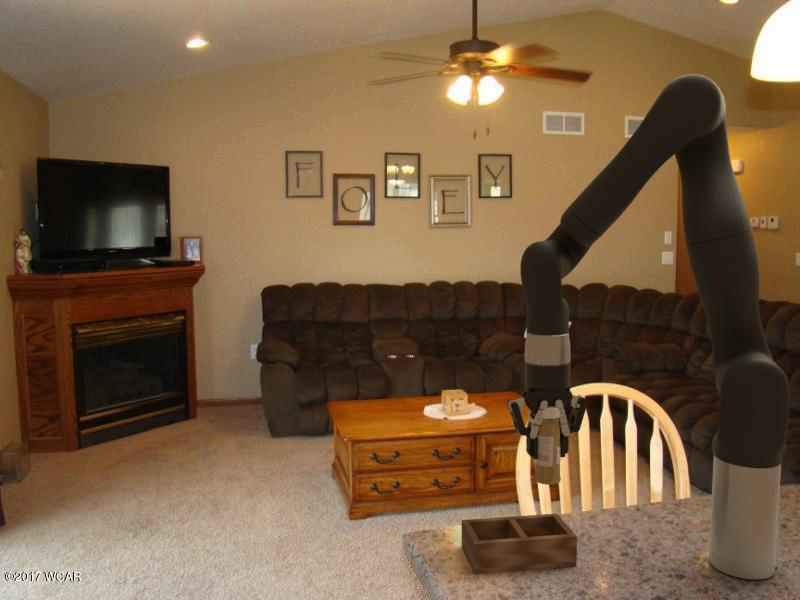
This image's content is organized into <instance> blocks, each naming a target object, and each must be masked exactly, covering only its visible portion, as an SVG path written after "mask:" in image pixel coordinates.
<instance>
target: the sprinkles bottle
mask: <svg viewBox="0 0 800 600" xmlns="http://www.w3.org/2000/svg"><path fill="white" fill-rule="evenodd" d="M540 414H541V413H540ZM534 416H535V415H534ZM559 417H560V411H559V409H557V408H556V407H555V406H551V407H547V409H545V410H543V411H542V418H543V420H542V424H541V426H540V427H539V430H538V433H537V436H536V438H537V439H538V458H537V459H534V477H533V478H534V480H535V482H537V483H539V484H541V485H545V486H547V485H549V486H550V485H557V484H559V483H560V482H561V480H562V478H561V457H560V421H559Z"/></svg>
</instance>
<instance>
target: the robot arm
mask: <svg viewBox="0 0 800 600" xmlns="http://www.w3.org/2000/svg"><path fill="white" fill-rule="evenodd" d="M726 105H727V104H726V100H725V96H724V93H723V92H722V90H721V88H720V87H719V86H718V85H717V84H716V83H715V81H713V80H712V79H711V78H709V77H707V76H705V75H703V74H699V73H698V74H697V73H690V74H689V73H688V74H683V75H680V76H678V77H676V78H674V79H672V80H671V81H670V82H668V83H667V84H666V85H665V86H664V87H663V88H662V90H661V91H660V94H659V95H658V96H657V98H656V99H655V101H654V103H653V104H652V105H651V107H650V109H649V111H648V112H647V114H646V115H645V116H644V117H643V120H642V121H641V123H640V124H639V126H638V127H637V129H636V130H635V131H633V132H634V133H633V134H632V135H631V136H630V138H629V139H627V141H626V143H625V144H624V145H623V146H622V148H621V149H620V150H619V151H618V153H617V154H616V155H615V156H614V157H613V158H612V159H611V160H610V162H609V163H608V164H607V165H605V167H604V168H603V169H602V170H601V171H600V172H599V174H597V176H596V177H595V178H593V180H592V181H591V182H590V183H589V184H588V185H587V186H586V187H585V189H584V190H583V191H581V192H580V194H578V196H577V197H576V198H575V199H574V201H573V202H572V203H571V204H570V205H569V206H568V207H567V208H566V209H565V211H564V212H563V213H562V215H561V217H560V221H559V222H560V223H559V224H558V225H557V226H556V228H554V230H553V231H552V232H551V234H550V235H549V236H548V237H547V238H545V240H541V241H536V242H532V243H531V244H529V245H528V246H527V247H526V248H525V250H524V251H523V253H522V256H521V260H520V266H519V267H520V268H519V269H520V271H519V272H520V281H521V286H522V293H523V297H524V301H525V304H526V322H525V323H526V326H525V327H526V332H525V333H526V334H525V335H526V336H525V342H524V343H525V345H524V354H523V355H524V357H523V358H524V387H525V388H524V392H523V394H522V397H518V398H517V399H512V398H511V399H510V398H509V399H508V400H507V402H506V403H507V406H508V410H509V413H510V416H511V419H512V423H513V426H514V430H515V431H516V433H517V432H518V434H519V435H521V436H525V437H526V438H525V439H526V440H525V442H526V445H525V446H526V447H525V449H526V453H527V455H529V456H530V458H531V459H532V460H535V459H537V458H538V439H537V438H536V436H537V433H538V430H539V427H540V426H541V424H542V420H543V418H542V411H543V410H545V409H547V407H551V406H555V407H556V408H557V409H559V411H560V417H559V421H560V458H566V454H568V453H569V449H570V448H569V446H570V445H569V443H570V442H569V438H570V435H571V434H573V433H579V431H580V430H581V428H582V423H583V420H584V417H585V413H586V412H587V411H586V410H587V407H588V403H589V401H588V399H587V398H586V397H584V396H582V395H575V394H573V392H572V391H571V342H570V341H571V340H570V333H569V332H570V313H569V310H570V309H569V304H568V301H567V300H565V298H564V297H563V285H562V282H563V281H562V280H563V279H564V278H566V277H567V276H568V275H569V274H570V273H572V272H573V270H574V269H575V268H576V267H577V266H578V265H579V263H580V262H581V261H582V260H583V258H584V257H585V256H586V254H587V253H588V251H589V250H590V248H591V247H592V246H593V245H594V243H596V242H597V241H598V240H599V239H600V238H601V237H602V236H603V235H604V234H605V233H606V232H607V231H608V230H609V229H610V228H611V226H613V225H614V224H615V223H616V221H618V219H619V218H620V217H621V216H622V215H623V213H625V212H626V210H627V209H628V208H629V206H631V204H632V202H633V201H634V200H635V199H636V197H637V196H638V195H639V194H640V192H641V191H642V189H643V188H645V186H646V184H647V183H648V182H649V181H650V180H651V178H653V176H654V175H655V173H657V172H658V170H659V169H660V168H661V167H662V166H664V164H665V163H666V162H667V161H669V160H670V159H671V158H672V157H673V156H675V160H676V163H677V166H678V170H679V176H680V181H681V182H680V183H681V205H682V206H681V210H682V224H683V226H682V227H683V234H684V242H685V244H686V249H687V255H688V259H689V264H690V267H691V272H692V276H693V279H694V283H695V287H696V290H697V293H698V297H699V299H700V301H701V304H702V307H703V310H704V313H705V316H706V319H707V322H708V326H709V331H710V338H711V339H710V340H711V349H712V357H713V367H714V368H713V370H714V382H715V383H714V384H715V386H716V390H717V392H718V394H719V403H718V404H719V406H718V407H719V408H718V423H717V424H718V425H717V433H716V436H715V437H714V442H713V443H714V445H713V461H712V462H713V463H712V483H711V509H710V527H709V551H708V553H709V554H708V561H709V564H710V565H712V567H713V568H715V569H716V570H718V571H720V572H722V573H724V574H726V575H728V576H731V577H736V578H740V579H745V580H754V581H755V580H756V581H757V580H758V581H759V580H765V579H769V578H771V577H772V576H774V574H775V573H776V570H775V569H776V568H777V567H779V556H780V555H779V553H780V537H781V522H782V521H781V520H782V508H781V506H780V494H781V493H780V491H781V473H782V458H783V451H784V449H785V447H786V443H787V437H788V428H789V427H788V426H789V415H790V414H789V413H790V404H791V403H790V401H791V400H790V399H791V389H790V383H789V379H788V376H787V374H786V373H785V372H784V371H783V369H782V368H781V367H780V366H779V365H778V364H777V363H775V361H774V359H773V357H772V354H771V351H770V349H769V345H768V342H767V339H766V335H765V332H764V328H763V325H762V321H761V315H760V269H759V259H758V252H757V248H756V242H755V239H754V238H755V237H754V233H753V229H752V225H751V221H750V218H749V214H748V211H747V207H746V203H745V201H744V197H743V195H742V192H741V189H740V187H739V183H738V180H737V177H736V175H735V172H734V169H733V164H732V160H731V154H730V147H729V145H730V144H729V138H728V137H729V136H728V129H727V126H728V125H727V112H726V111H727V107H726ZM570 404H571V407H572V410H571V413H570V417H569V419H568V418H567V415H566V414H567V413H566V409H567V408H568V407H569V405H570ZM524 405H525V406H527V408H528V409H529V414H528V417H527V425H526V424H525V423H524V418H523V416H522V412H523V411H524ZM540 413H541V414H540ZM534 415H535V416H534ZM568 420H569V421H568Z"/></svg>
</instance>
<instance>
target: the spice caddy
mask: <svg viewBox="0 0 800 600" xmlns="http://www.w3.org/2000/svg"><path fill="white" fill-rule="evenodd" d="M461 549H462V552H463V554H464V556H465V558H466V560H467V562H468V563H469V566H470V567H471V569H472V571H473V574H474V575H482V574H496V573H497V574H498V573H506V572H518V571H519V572H520V571H521V572H522V571H530V570H532V571H533V570H542V569H543V570H544V569H545V570H546V569H555V568H556V569H557V568H559V569H560V568H568V567H577V561H578V559H577V557H578V555H577V554H578V536H577V535H576V534H575V532H574V531H573V530H572V529H571V528H570V526H569V525H568V524H567V523H566V522H565V521H564V520H563V518H562V517H560V515H559V513H545V514H543V513H542V514H531V515H530V514H527V515H516V516H515V515H514V516H502V517H500V516H499V517H489V518H488V517H487V518H475V519H471V518H470V519H462V520H461Z"/></svg>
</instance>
